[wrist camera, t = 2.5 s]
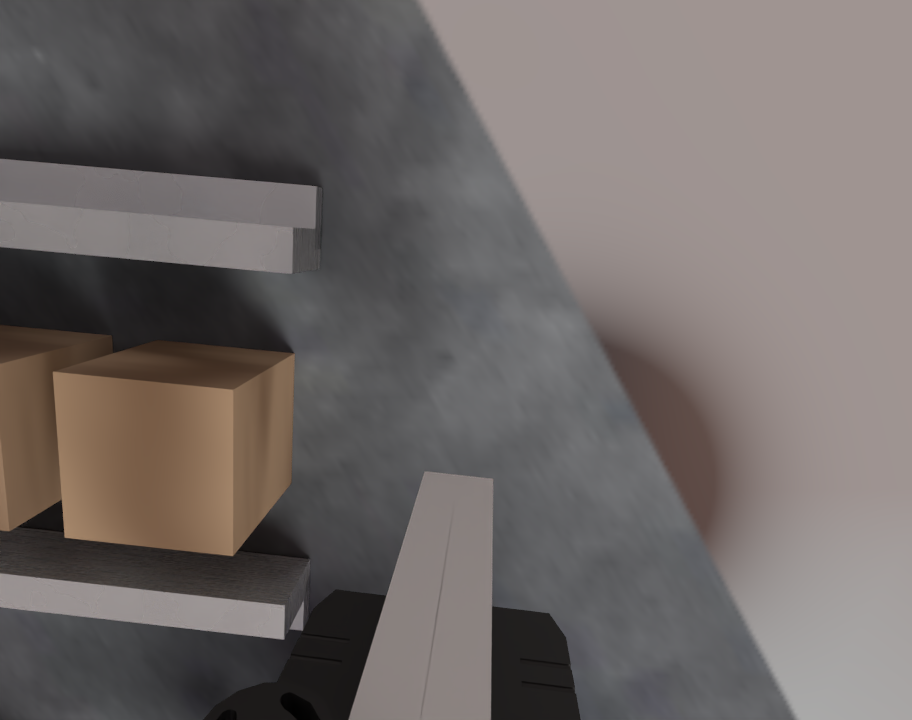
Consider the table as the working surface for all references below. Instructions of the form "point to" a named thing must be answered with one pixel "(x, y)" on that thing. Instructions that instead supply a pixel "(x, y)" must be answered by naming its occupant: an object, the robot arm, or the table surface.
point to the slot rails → (174, 241)
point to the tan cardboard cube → (34, 414)
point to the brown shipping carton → (174, 444)
